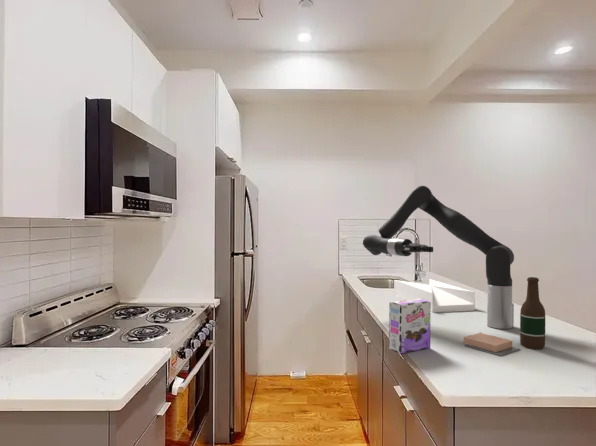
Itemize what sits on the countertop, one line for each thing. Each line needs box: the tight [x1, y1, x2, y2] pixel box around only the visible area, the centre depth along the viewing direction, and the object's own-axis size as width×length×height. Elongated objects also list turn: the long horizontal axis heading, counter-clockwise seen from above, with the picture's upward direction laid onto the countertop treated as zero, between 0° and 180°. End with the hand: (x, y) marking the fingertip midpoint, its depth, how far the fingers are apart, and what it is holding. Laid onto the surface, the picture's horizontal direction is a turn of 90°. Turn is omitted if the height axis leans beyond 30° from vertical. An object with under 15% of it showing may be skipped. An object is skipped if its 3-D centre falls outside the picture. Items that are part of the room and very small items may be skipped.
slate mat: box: [464, 344, 521, 357], centre depth 145 cm, size 12×13×1 cm
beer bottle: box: [519, 276, 546, 350], centre depth 147 cm, size 8×8×24 cm
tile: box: [463, 332, 513, 352], centre depth 146 cm, size 10×2×12 cm
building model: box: [393, 278, 476, 313], centre depth 224 cm, size 45×22×10 cm, turn 10°
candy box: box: [388, 299, 431, 355], centre depth 144 cm, size 14×6×16 cm, turn 117°
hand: (432, 249), depth 170 cm, fingers closed
